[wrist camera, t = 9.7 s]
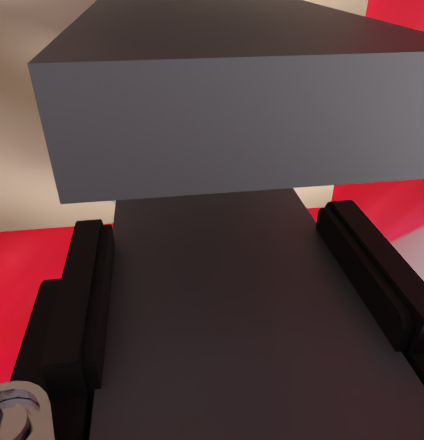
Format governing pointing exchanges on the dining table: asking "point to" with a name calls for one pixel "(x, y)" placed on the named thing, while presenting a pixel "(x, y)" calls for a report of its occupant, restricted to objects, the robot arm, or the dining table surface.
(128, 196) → the domino
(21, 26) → the board
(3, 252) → the dining table surface
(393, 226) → the dining table surface
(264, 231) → the domino
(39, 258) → the dining table surface
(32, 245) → the dining table surface
